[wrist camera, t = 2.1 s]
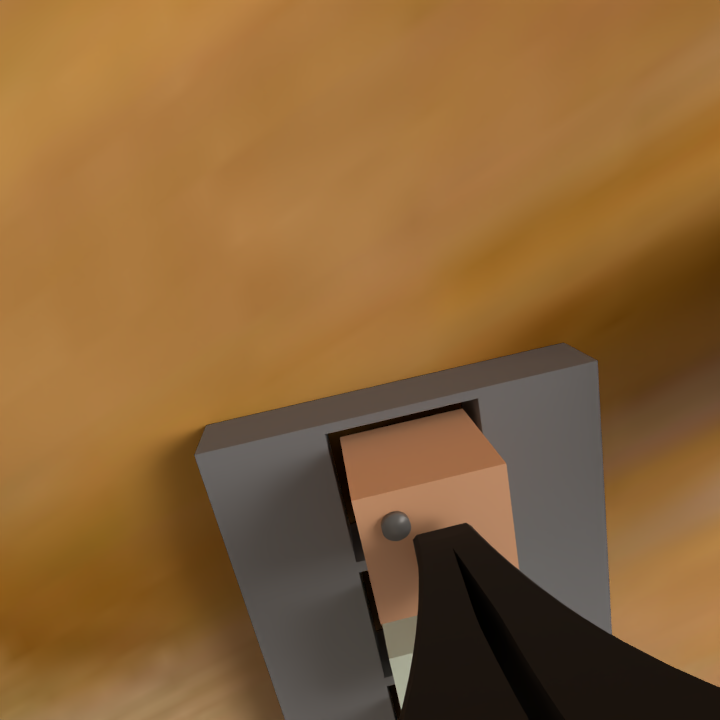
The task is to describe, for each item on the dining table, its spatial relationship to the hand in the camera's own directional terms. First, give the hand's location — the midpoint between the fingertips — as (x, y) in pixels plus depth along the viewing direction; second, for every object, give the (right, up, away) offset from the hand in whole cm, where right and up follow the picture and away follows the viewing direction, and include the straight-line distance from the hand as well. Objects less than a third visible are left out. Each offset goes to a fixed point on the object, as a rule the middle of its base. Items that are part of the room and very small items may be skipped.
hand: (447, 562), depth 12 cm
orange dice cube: (0, +1, +4) cm, 4 cm away
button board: (0, -3, +7) cm, 8 cm away
